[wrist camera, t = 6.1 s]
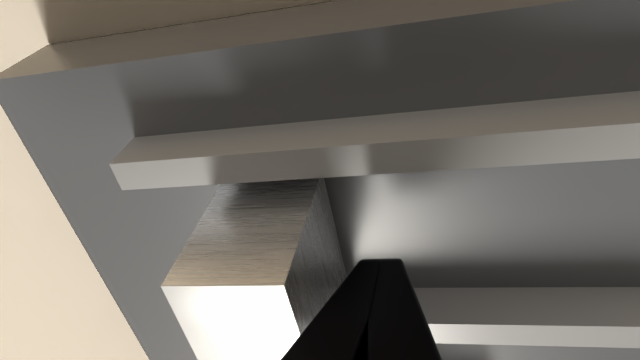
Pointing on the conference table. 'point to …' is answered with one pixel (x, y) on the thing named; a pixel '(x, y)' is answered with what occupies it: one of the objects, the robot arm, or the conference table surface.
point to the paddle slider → (256, 269)
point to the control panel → (369, 156)
